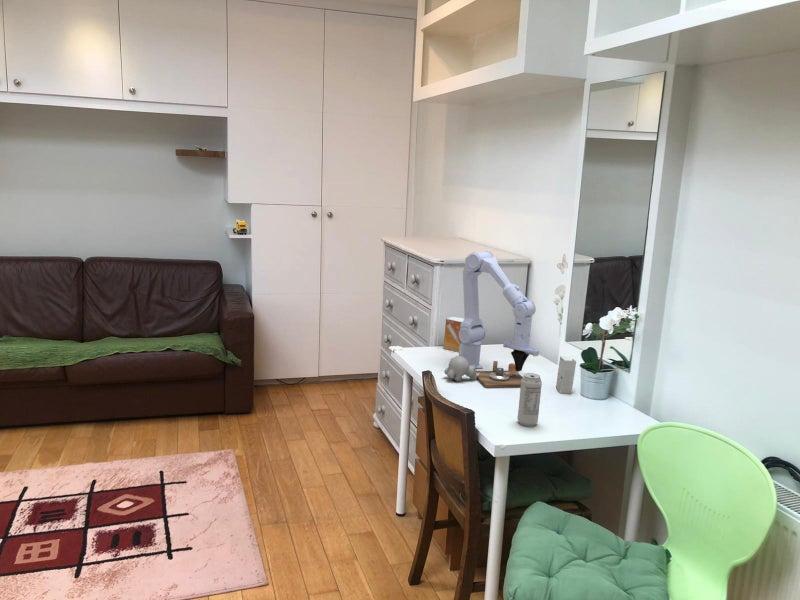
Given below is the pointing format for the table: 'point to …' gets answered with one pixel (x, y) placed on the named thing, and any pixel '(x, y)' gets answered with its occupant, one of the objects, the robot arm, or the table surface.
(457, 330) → the small box
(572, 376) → the skincare box
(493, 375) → the dial plate
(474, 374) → the chubby cartoon animal
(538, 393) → the energy drink can
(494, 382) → the walnut board
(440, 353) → the table surface
